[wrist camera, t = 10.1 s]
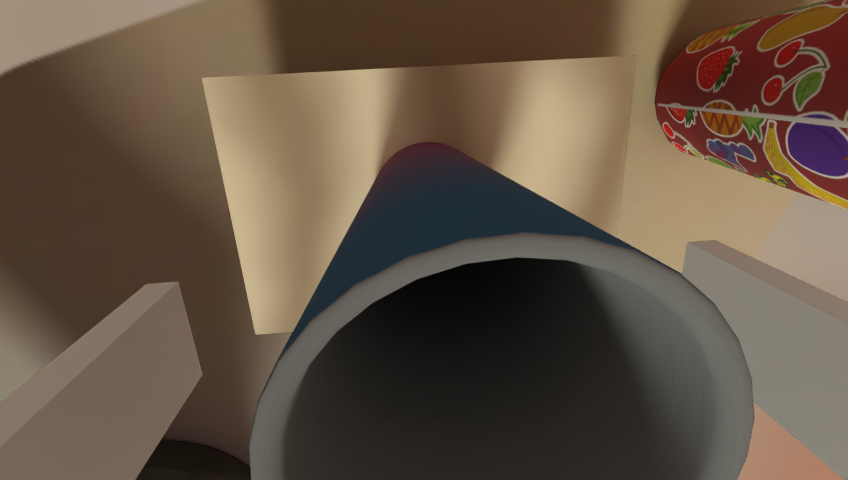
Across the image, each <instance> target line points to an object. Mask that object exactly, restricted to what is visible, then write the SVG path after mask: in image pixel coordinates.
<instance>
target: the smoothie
mask: <svg viewBox="0 0 848 480" xmlns="http://www.w3.org/2000/svg"><path fill="white" fill-rule="evenodd" d="M655 107H656V114H657V119H658V121H659V123H660V125H661V127H662V129H663V131H664V133H665V135H666V137H667V139H668V141H669V142H671V143H672V144H673V145H674V146H675V147H676V148H678V149H679V150H680V151H681V152H684V153H687V154H690V155H693V156H696V157H699V158H702V159H705V160H708V161H710V162H713V163H716V164H719V165H722V166H725V167H728V168H730V169H733V170H736V171H739V172H742V173H745V174H748V175H751V176H753V177H756V178H759V179H762V180H765V181H768V182H771V183H773V184H776V185H779V186H782V187H785V188H788V189H791V190H794V191H796V192H799V193H802V194H805V195H808V196H811V197H814V198H816V199H820V200H822V201H825V202H828V203H831V204H834V205H836V206H839V207H842V208H845V209H848V0H826V1H822V2H818V3H814V4H810V5H806V6H803V7H799V8H795V9H791V10H787V11H783V12H780V13H776V14H772V15H768V16H764V17H760V18H757V19H753V20H749V21H745V22H741V23H737V24H734V25H730V26H726V27H722V28H719V29H716V30H713V31H710V32H707V33H704V34H702V35H701V36H699V37H698V38H697V39H695V40H694V41H693V42H691V43H690V44H688V45H687V46H686V47H685V48H684V49H683V50H682V51H681V52H680V54H679V55H678V56H677V57H676V58H675V59H674V60H673V61H672V63H671V64H670V65H669V66H668V67H667V69H666V70H665V72H664V74H663V76H662V78H661V80H660V83H659V85H658V88H657V94H656V100H655Z"/></svg>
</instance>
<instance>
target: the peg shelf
mask: <svg viewBox="0 0 848 480" xmlns="http://www.w3.org/2000/svg"><path fill="white" fill-rule="evenodd" d="M635 63H636V55H634V56H615V57H596V58H576V59H557V60H538V61H519V62H499V63H480V64H461V65H442V66H422V67H403V68H384V69H365V70H345V71H326V72H307V73H288V74H268V75H249V76H230V77H210V78H202V81H203V86H204V91H205V96H206V100H207V105H208V110H209V115H210V120H211V124H212V129H213V134H214V139H215V143H216V148H217V153H218V158H219V163H220V167H221V172H222V177H223V182H224V187H225V191H226V196H227V201H228V206H229V210H230V215H231V220H232V225H233V230H234V234H235V239H236V244H237V249H238V254H239V258H240V263H241V268H242V273H243V278H244V282H245V287H246V292H247V297H248V301H249V306H250V311H251V316H252V321H253V325H254V330H255V335H259V334H272V333H285V332H293V331H294V329H295V327H296V325H297V323H298V321H299V320H300V318H301V316H302V314H303V312H304V310H305V308H306V307H307V305H308V303H309V301H310V299H311V297H312V295H313V294H314V292H315V290H316V288H317V286H318V284H319V283H320V281H321V279H322V277H323V275H324V273H325V271H326V270H327V268H328V266H329V264H330V262H331V260H332V258H333V257H334V255H335V253H336V251H337V249H338V247H339V246H340V244H341V242H342V240H343V238H344V236H345V234H346V233H347V231H348V229H349V227H350V225H351V223H352V222H353V220H354V218H355V216H356V214H357V212H358V210H359V209H360V207H361V205H362V203H363V201H364V199H365V197H366V196H367V194H368V192H369V190H370V188H371V186H372V185H373V183H374V181H375V179H376V177H377V175H378V173H379V172H380V170H381V168H382V167H383V165H384V164H385V163H386V162H387V160H388V159H389V158H390V157H392V156H393V155H394V154H395V153H396V152H398V151H400V150H401V149H403V148H405V147H407V146H410V145H413V144H416V143H423V142H436V143H442V144H445V145H449V146H451V147H453V148H455V149H457V150H459V151H461V152H462V153H464V154H466V155H468V156H470V157H471V158H473V159H475V160H477V161H479V162H481V163H482V164H484V165H486V166H488V167H490V168H491V169H493V170H495V171H497V172H499V173H500V174H502V175H504V176H506V177H508V178H509V179H511V180H513V181H515V182H517V183H518V184H520V185H522V186H524V187H526V188H528V189H529V190H531V191H533V192H535V193H537V194H538V195H540V196H542V197H544V198H546V199H547V200H549V201H551V202H553V203H555V204H556V205H558V206H560V207H562V208H564V209H565V210H567V211H569V212H571V213H573V214H575V215H576V216H578V217H580V218H582V219H584V220H585V221H587V222H589V223H591V224H593V225H594V226H596V227H598V228H600V229H602V230H603V231H605V232H607V233H609V234H611V235H613V236H614V237H616V238H617V233H618V224H619V214H620V205H621V195H622V186H623V176H624V167H625V157H626V148H627V139H628V129H629V120H630V110H631V101H632V91H633V82H634V72H635Z"/></svg>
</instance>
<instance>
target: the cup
mask: <svg viewBox="0 0 848 480" xmlns="http://www.w3.org/2000/svg"><path fill="white" fill-rule="evenodd" d="M753 423H754V404H753V388H752V377H751V374H750V371H749V368H748V365H747V362H746V359H745V356H744V353H743V350H742V348H741V345H740V342H739V339H738V338H737V336H736V335H735V333H734V332H733V330H732V329H731V327H730V326H729V324H728V323H727V321H726V320H725V318H724V317H723V315H722V314H721V312H720V311H719V309H718V308H717V306H716V305H715V303H714V302H712V301H711V300H710V299H709V298H708V297H707V296H706V295H704V294H703V293H702V292H701V291H700V290H699V289H698V288H697V287H695V286H694V285H693V284H692V283H691V282H690V281H689V280H687V279H686V278H685V277H684V276H683V275H682V274H681V273H679V272H678V271H676V270H674V269H672V268H670V267H669V266H667V265H665V264H663V263H661V262H660V261H658V260H656V259H654V258H652V257H650V256H649V255H647V254H645V253H643V252H641V251H640V250H638V249H636V248H634V247H632V246H631V245H629V244H627V243H625V242H623V241H622V240H620V239H618V238H616V237H614V236H613V235H611V234H609V233H607V232H605V231H603V230H602V229H600V228H598V227H596V226H594V225H593V224H591V223H589V222H587V221H585V220H584V219H582V218H580V217H578V216H576V215H575V214H573V213H571V212H569V211H567V210H565V209H564V208H562V207H560V206H558V205H556V204H555V203H553V202H551V201H549V200H547V199H546V198H544V197H542V196H540V195H538V194H537V193H535V192H533V191H531V190H529V189H528V188H526V187H524V186H522V185H520V184H518V183H517V182H515V181H513V180H511V179H509V178H508V177H506V176H504V175H502V174H500V173H499V172H497V171H495V170H493V169H491V168H490V167H488V166H486V165H484V164H482V163H481V162H479V161H477V160H475V159H473V158H471V157H470V156H468V155H466V154H464V153H462V152H461V151H459V150H457V149H455V148H453V147H451V146H449V145H445V144H442V143H436V142H423V143H416V144H413V145H410V146H407V147H405V148H403V149H401V150H400V151H398V152H396V153H395V154H394V155H393V156H392V157H390V158H389V159H388V160H387V162H386V163H385V164H384V165H383V167H382V168H381V170H380V172H379V173H378V175H377V177H376V179H375V181H374V183H373V185H372V186H371V188H370V190H369V192H368V194H367V196H366V197H365V199H364V201H363V203H362V205H361V207H360V209H359V210H358V212H357V214H356V216H355V218H354V220H353V222H352V223H351V225H350V227H349V229H348V231H347V233H346V234H345V236H344V238H343V240H342V242H341V244H340V246H339V247H338V249H337V251H336V253H335V255H334V257H333V258H332V260H331V262H330V264H329V266H328V268H327V270H326V271H325V273H324V275H323V277H322V279H321V281H320V283H319V284H318V286H317V288H316V290H315V292H314V294H313V295H312V297H311V299H310V301H309V303H308V305H307V307H306V308H305V310H304V312H303V314H302V316H301V318H300V320H299V321H298V323H297V325H296V327H295V329H294V331H293V332H292V334H291V336H290V338H289V340H288V342H287V344H286V345H285V347H284V349H283V351H282V353H281V355H280V356H279V358H278V360H277V362H276V364H275V366H274V369H273V371H272V373H271V375H270V377H269V379H268V381H267V383H266V385H265V387H264V390H263V392H262V394H261V396H260V398H259V400H258V402H257V407H256V412H255V417H254V422H253V427H252V432H251V437H250V442H249V452H250V469H251V480H737V479H738V477H739V475H740V472H741V470H742V467H743V465H744V463H745V460H746V458H747V455H748V450H749V444H750V439H751V434H752V428H753Z"/></svg>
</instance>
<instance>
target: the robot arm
mask: <svg viewBox="0 0 848 480" xmlns="http://www.w3.org/2000/svg"><path fill="white" fill-rule="evenodd" d="M682 275H683V276H684V277H685V278H686V279H687V280H689V281H690V282H691V283H692V284H693V285H694V286H695V287H697V288H698V289H699V290H700V291H701V292H702V293H703V294H704V295H706V296H707V297H708V298H709V299H710V300H711V301H712V302H714V303H715V305H716V306H717V308H718V309H719V311H720V312H721V314H722V315H723V317H724V318H725V320H726V321H727V323H728V324H729V326H730V327H731V329H732V330H733V332H734V333H735V335H736V336H737V338H738V339H739V342H740V345H741V348H742V350H743V353H744V356H745V359H746V362H747V365H748V368H749V371H750V374H751V377H752V388H753V402H754V403H755V404H756V405H758V406H759V407H760V408H761V409H762V410H763V411H765V412H766V413H767V414H768V415H769V416H770V417H771V418H773V419H774V420H775V421H776V422H777V423H779V424H780V425H781V426H782V427H783V428H784V429H785V430H787V431H788V432H789V433H790V434H791V435H792V436H794V437H795V438H796V439H797V440H798V441H800V442H801V443H802V444H803V445H804V446H805V447H807V448H808V449H809V450H810V451H811V452H813V454H815V455H816V456H817V457H818V458H819V459H820V460H822V461H823V462H824V463H825V464H826V465H827V466H829V467H830V468H831V469H832V470H833V471H834V472H835V473H837V474H838V475H839V476H840V477H841V478H843V479H844V480H848V302H847V301H845V300H843V299H840V298H838V297H836V296H834V295H832V294H830V293H828V292H825V291H823V290H821V289H819V288H817V287H815V286H813V285H810V284H808V283H806V282H804V281H802V280H800V279H797V278H795V277H793V276H791V275H789V274H787V273H785V272H783V271H780V270H778V269H776V268H774V267H772V266H770V265H767V264H765V263H763V262H761V261H759V260H757V259H755V258H752V257H750V256H748V255H746V254H744V253H742V252H740V251H737V250H735V249H733V248H731V247H729V246H727V245H725V244H722V243H720V242H718V241H716V240H709V241H696V242H687V247H686V253H685V260H684V266H683V272H682ZM202 375H203V374H202V371H201V367H200V363H199V359H198V355H197V351H196V347H195V344H194V340H193V336H192V332H191V328H190V324H189V321H188V317H187V313H186V309H185V305H184V301H183V298H182V294H181V290H180V286H179V282H165V283H152V284H146V285H144V286H143V287H142V288H141V289H140V290H138V291H137V292H136V293H135V294H133V295H132V296H131V297H130V298H129V299H127V300H126V301H125V302H124V303H122V304H121V305H120V306H119V307H118V308H116V309H115V310H114V311H113V312H111V313H110V314H109V315H108V316H106V317H105V318H104V319H103V320H102V321H100V322H99V323H98V324H97V325H95V326H94V327H93V328H92V329H91V330H89V331H88V332H87V333H86V334H84V335H83V336H82V337H81V338H80V339H78V340H77V341H76V342H75V343H73V344H72V345H71V346H70V347H69V348H67V349H66V350H65V351H64V352H62V353H61V354H60V355H59V356H57V357H56V358H55V359H54V360H53V361H51V362H50V363H49V364H48V365H46V366H45V367H44V368H43V369H42V370H40V371H39V372H38V373H37V374H35V375H34V376H33V377H32V378H31V379H29V380H28V381H27V382H26V383H24V384H23V385H22V386H21V387H20V388H18V389H17V390H16V391H15V392H13V393H12V394H11V395H10V396H8V397H7V398H6V399H5V400H4V401H2V402H1V403H0V480H251V469H250V468H248V467H247V466H246V465H244V464H243V463H241V462H239V461H238V460H236V459H234V458H233V457H231V456H228V455H226V454H224V453H222V452H219V451H217V450H214V449H211V448H208V447H205V446H201V445H196V444H191V443H185V442H176V441H160V440H161V439H162V437H163V436H164V434H165V433H166V431H167V430H168V428H169V426H170V425H171V423H172V422H173V420H174V419H175V417H176V416H177V414H178V412H179V411H180V409H181V408H182V406H183V405H184V403H185V402H186V400H187V398H188V397H189V395H190V394H191V392H192V391H193V389H194V388H195V386H196V384H197V383H198V381H199V380H200V378H201V377H202Z"/></svg>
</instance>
